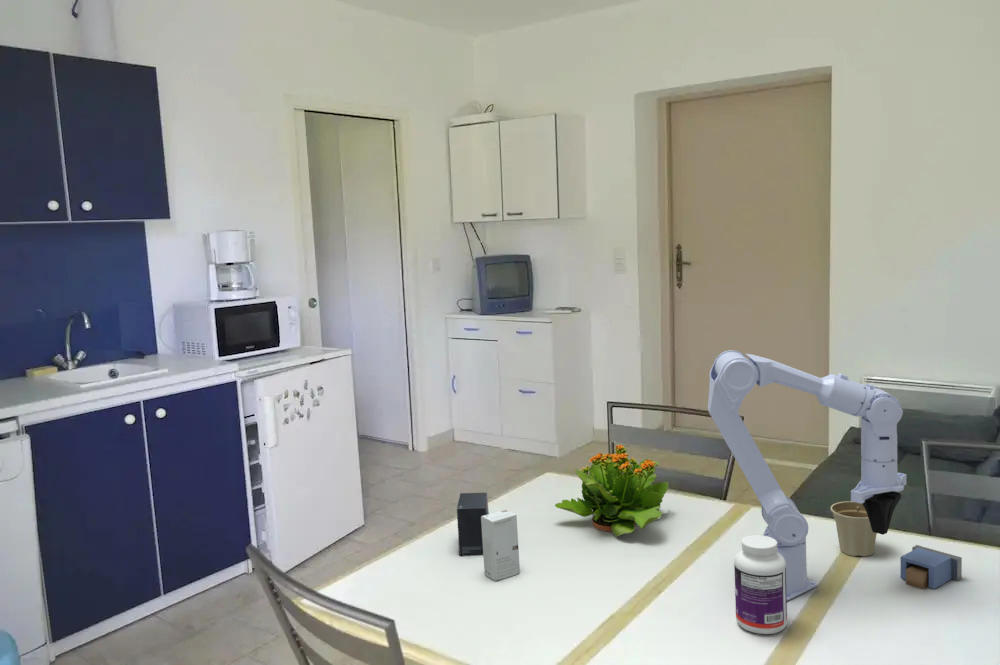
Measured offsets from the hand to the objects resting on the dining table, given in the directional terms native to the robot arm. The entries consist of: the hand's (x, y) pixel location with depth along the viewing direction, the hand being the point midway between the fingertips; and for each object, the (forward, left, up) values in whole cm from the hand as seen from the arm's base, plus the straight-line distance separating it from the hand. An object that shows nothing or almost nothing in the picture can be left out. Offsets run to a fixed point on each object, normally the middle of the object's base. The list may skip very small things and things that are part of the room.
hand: (879, 532), depth 140 cm
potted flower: (-13, +56, -10) cm, 58 cm away
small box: (-43, +67, -10) cm, 80 cm away
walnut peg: (+7, -4, -10) cm, 13 cm away
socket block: (+8, -4, -10) cm, 13 cm away
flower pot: (+11, +11, -10) cm, 19 cm away
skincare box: (-47, +51, -10) cm, 70 cm away
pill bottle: (-27, +5, -10) cm, 29 cm away
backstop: (+12, -4, -10) cm, 16 cm away
